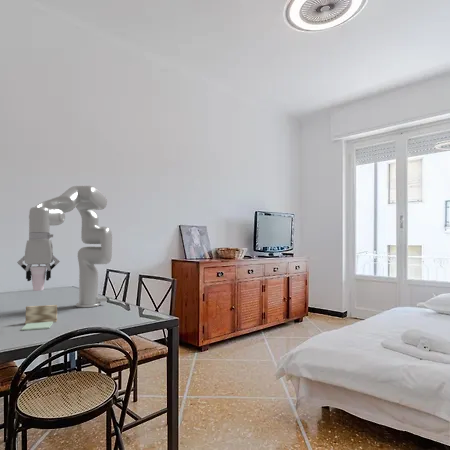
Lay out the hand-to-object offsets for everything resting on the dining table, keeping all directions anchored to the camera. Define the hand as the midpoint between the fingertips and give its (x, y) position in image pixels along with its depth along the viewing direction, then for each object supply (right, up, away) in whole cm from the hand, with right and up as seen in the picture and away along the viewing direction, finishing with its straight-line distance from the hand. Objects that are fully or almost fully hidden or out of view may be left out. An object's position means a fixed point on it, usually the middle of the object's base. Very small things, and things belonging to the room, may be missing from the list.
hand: (38, 280), depth 146 cm
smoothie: (0, -4, 0) cm, 4 cm away
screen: (-2, -19, +7) cm, 21 cm away
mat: (0, -19, -1) cm, 19 cm away
